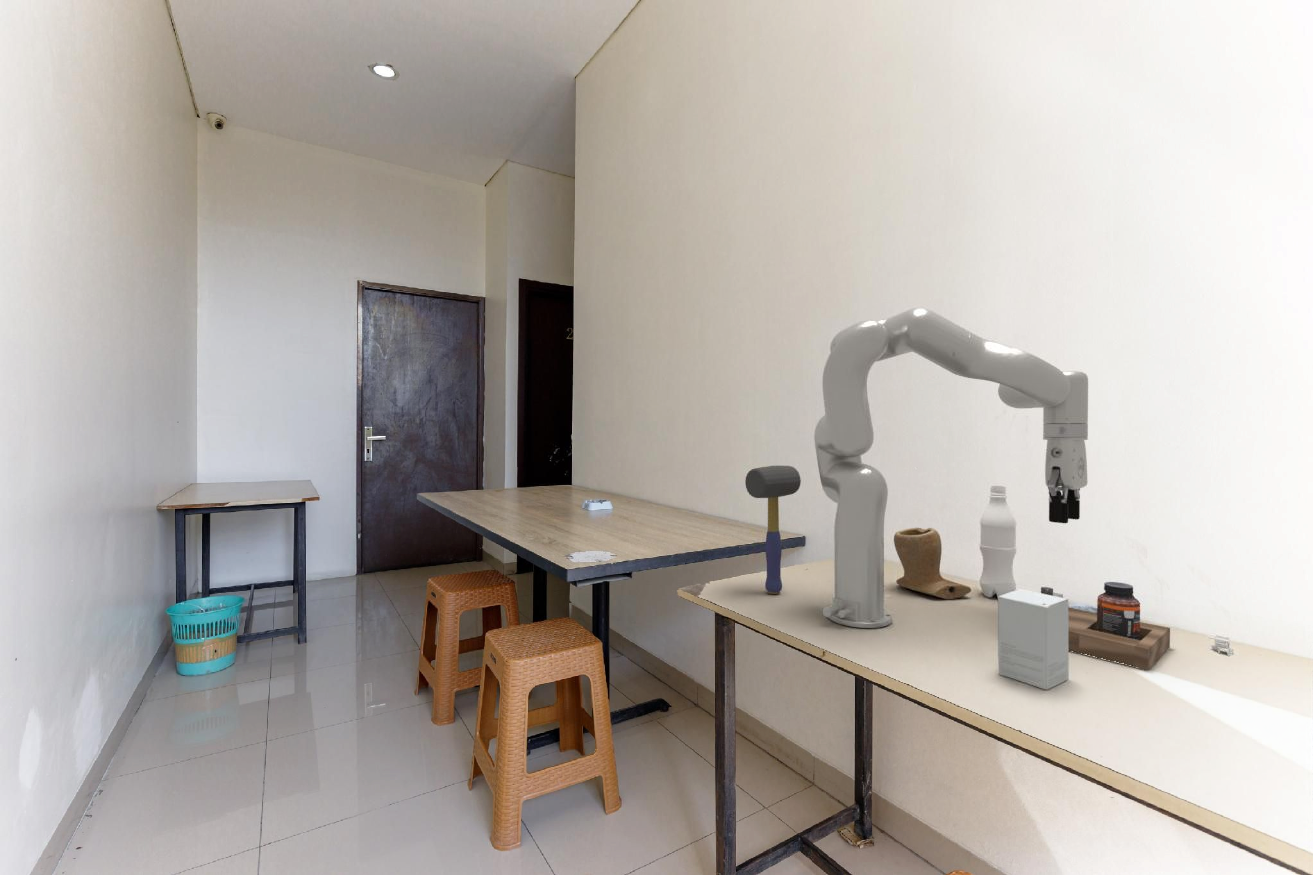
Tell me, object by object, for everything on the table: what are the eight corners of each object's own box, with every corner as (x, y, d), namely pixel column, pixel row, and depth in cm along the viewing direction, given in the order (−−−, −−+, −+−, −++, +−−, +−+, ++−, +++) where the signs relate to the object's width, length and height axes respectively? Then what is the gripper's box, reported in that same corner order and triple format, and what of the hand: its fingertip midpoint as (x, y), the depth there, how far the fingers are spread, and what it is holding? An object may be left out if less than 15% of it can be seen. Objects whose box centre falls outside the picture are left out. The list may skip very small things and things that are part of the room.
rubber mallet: (780, 585, 147) (779, 463, 146) (804, 592, 141) (803, 465, 140) (743, 594, 140) (742, 466, 139) (766, 601, 134) (765, 467, 133)
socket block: (1147, 670, 95) (1148, 649, 95) (999, 633, 112) (999, 615, 112) (1169, 647, 105) (1170, 627, 105) (1029, 616, 122) (1029, 599, 122)
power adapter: (1233, 655, 102) (1233, 637, 102) (1231, 659, 101) (1232, 641, 101) (1209, 650, 105) (1209, 632, 105) (1207, 654, 103) (1207, 636, 103)
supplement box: (1070, 679, 93) (1071, 598, 92) (1046, 691, 89) (1047, 607, 88) (1020, 663, 99) (1020, 587, 99) (996, 673, 95) (996, 594, 95)
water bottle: (1006, 592, 139) (1007, 485, 138) (1022, 601, 132) (1022, 488, 131) (974, 591, 140) (974, 485, 139) (988, 600, 133) (988, 488, 132)
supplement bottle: (1142, 657, 100) (1143, 590, 100) (1098, 650, 104) (1099, 585, 103) (1136, 646, 106) (1137, 582, 105) (1095, 640, 109) (1095, 578, 108)
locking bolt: (1048, 612, 113) (1048, 593, 113) (1030, 609, 115) (1030, 590, 115) (1062, 604, 118) (1063, 586, 118) (1045, 600, 120) (1045, 583, 120)
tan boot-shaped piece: (882, 587, 145) (882, 525, 144) (921, 581, 149) (921, 522, 148) (932, 605, 130) (932, 536, 130) (972, 598, 135) (973, 532, 134)
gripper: (1072, 433, 113) (1071, 528, 114) (1100, 431, 124) (1099, 518, 125) (1028, 433, 119) (1027, 523, 120) (1058, 431, 130) (1058, 514, 131)
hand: (1064, 519), depth 122 cm, fingers open, 6 cm apart
